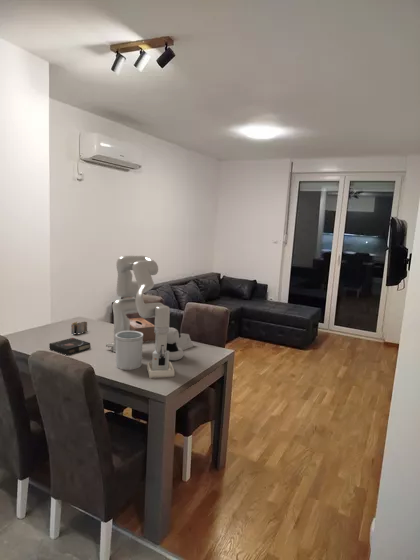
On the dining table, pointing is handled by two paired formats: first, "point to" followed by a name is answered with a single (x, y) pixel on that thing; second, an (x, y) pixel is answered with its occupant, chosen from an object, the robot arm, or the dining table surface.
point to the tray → (160, 372)
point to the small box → (156, 361)
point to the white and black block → (184, 342)
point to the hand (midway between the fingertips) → (160, 362)
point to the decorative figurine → (173, 345)
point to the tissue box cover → (143, 328)
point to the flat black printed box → (69, 346)
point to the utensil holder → (129, 349)
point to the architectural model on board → (78, 327)
